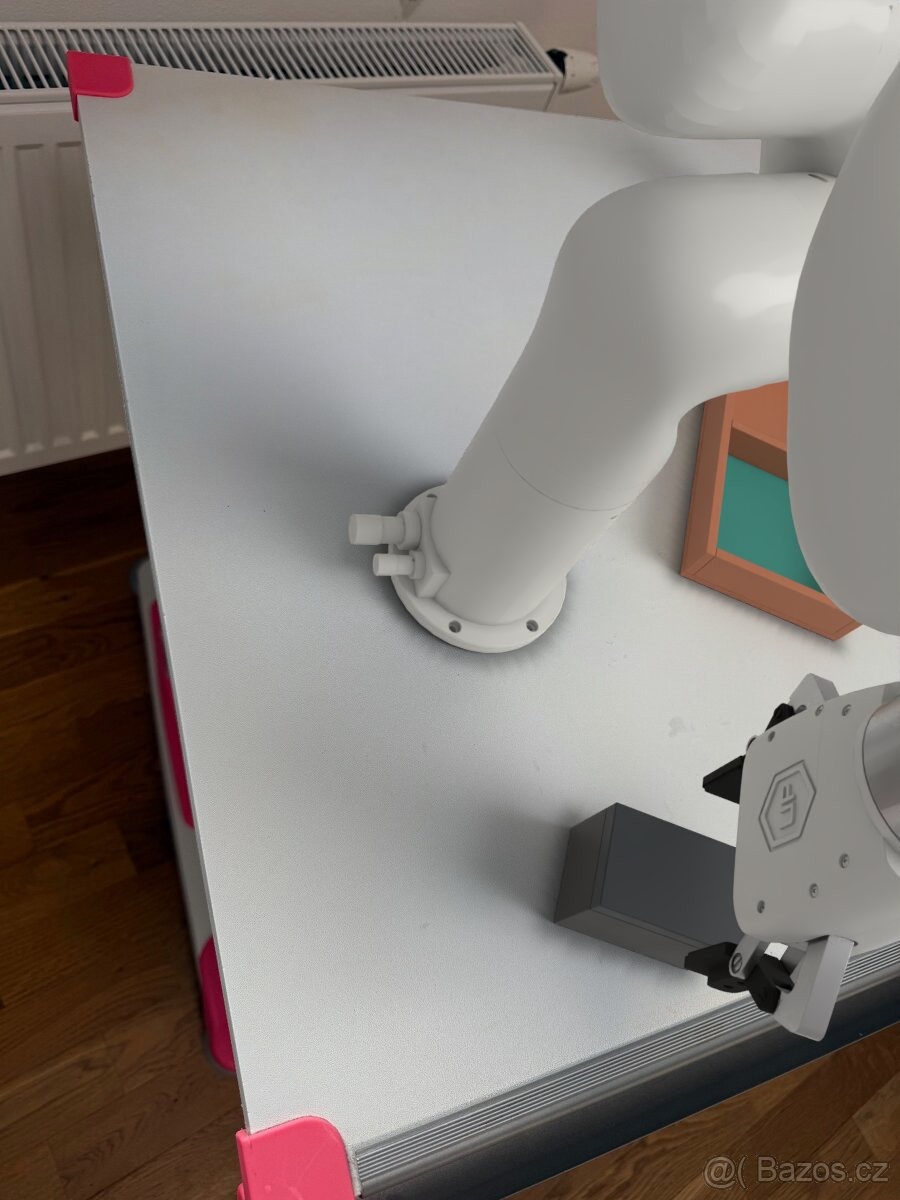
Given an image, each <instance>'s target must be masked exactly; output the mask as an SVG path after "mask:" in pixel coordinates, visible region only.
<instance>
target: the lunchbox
mask: <svg viewBox="0 0 900 1200" xmlns="http://www.w3.org/2000/svg"><path fill="white" fill-rule="evenodd" d="M735 855H736V846H733V845H731V844H728V843H726V842H723V841H720V840H718V839H715V838H713V837H710V836H707V835H705V834H702V833H699V832H697V831H693V830H691V829H690V828H686V827H684V826H681V825H678V824H677V823H673V822H670V821H668V820H665V819H663V818H660V817H657V816H655V815H652V814H649V813H646V812H644V811H643V810H642V811H641V810H639V809H636V808H634V807H632V806H631V807H630V806H628V805H626V804H623V803H620V802H614V803H612V804H610V805H609V806H607V807H605V808H603V809H602V810H600V811H598V812H597V813H595V814H593V815H591V816H589V817H587V818H585V819H584V820H582V821H581V822H578V823H577V824H575V825H573V826H572V827H571V830H570V834H569V839H568V845H567V851H566V855H565V861H564V866H563V872H562V877H561V882H560V888H559V893H558V897H557V905H556V910H555V913H554V920H553V923H554V925H558V926H561V927H563V928H567V929H570V930H572V931H573V932H574V931H575V932H577V933H580V934H583V935H586V936H589V937H591V938H595V939H597V940H601V941H603V942H606V943H608V944H611V945H614V946H617V947H620V948H623V949H626V950H629V951H631V952H635V953H637V954H640V955H643V956H646V957H649V958H652V959H654V960H657V961H659V962H662V963H665V964H668V965H671V966H674V967H677V968H679V969H683V970H685V971H688V970H687V969H685V968H684V961H685V956H687V955H688V953H689V952H692V951H695V950H699V949H702V948H705V947H708V946H712V945H715V944H718V943H721V942H732V943H735V944H739V943H740V941H741V939H742V938H743V936H744V935H745V933H744V932H742V930H741V929H740V927H739V924H738V922H737V919H736V916H735V911H734V902H733V888H734V870H735Z"/></svg>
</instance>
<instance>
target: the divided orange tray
mask: <svg viewBox="0 0 900 1200" xmlns="http://www.w3.org/2000/svg"><path fill="white" fill-rule="evenodd" d="M787 417H788V381H783V382H778V383H772V384H767V385H763V386H760V387H758V388H754V389H750V390H744V391H739V392H734V393H729V394H725V395H721V396H718V397H715V398H712V399H709V400H707V401H704V405H703V413H702V420H701V424H700V425H701V426H700V434H699V440H698V448H697V454H696V461H695V467H694V475H693V482H692V487H691V488H692V489H691V496H690V503H689V510H688V516H687V524H686V529H685V530H686V531H685V538H684V545H683V552H682V559H681V565H680V573H679V575H680V576H681V577H683V578H686V579H689V580H691V581H693V582H695V583H698V584H700V585H703V586H704V587H706V588H707V587H708V588H710V589H712V590H714V591H717V592H718V593H722V594H724V595H726V596H728V597H731V598H733V599H736V600H738V601H740V602H742V603H745V604H747V605H749V606H751V607H754V608H756V609H758V610H761V611H763V612H765V613H768V614H770V615H773V616H775V617H777V618H780V619H782V620H784V621H787V622H789V623H791V624H794V625H796V626H799V627H801V628H803V629H806V630H807V631H810V632H813V633H815V634H818V635H820V636H822V637H824V638H826V639H829V640H832V641H834V642H837V641H838V640H840V639H841V638H844V637H845V636H847V635H848V634H850V633H852V632H853V631H854V630H856V629H858V628H860V627H861V626H864V625H863V624H861V623H859V622H857V621H856V620H854V619H853V618H851V617H850V616H849V615H847V614H846V613H844V612H843V611H841V610H840V609H839V608H838V607H837V606H836V605H835V604H834V603H833V602H832V601H831V599H830V598H829V597H828V596H827V595H826V594H825V593H824V592H823V591H822V589H821V588H820V586H819V585H818V583H817V581H816V580H815V578H814V577H813V575H812V573H811V572H810V570H809V568H808V566H807V564H806V561H805V559H804V556H803V554H802V551H801V549H800V546H799V543H798V539H797V535H796V530H795V526H794V522H793V517H792V512H791V503H790V497H789V483H788V468H787Z"/></svg>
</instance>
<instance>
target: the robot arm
mask: <svg viewBox="0 0 900 1200" xmlns="http://www.w3.org/2000/svg"><path fill="white" fill-rule="evenodd" d="M595 9H596V10H595V11H596V12H595V14H596V16H595V19H596V20H595V21H596V24H595V33H596V36H595V37H596V60H597V68H598V76H599V81H600V84H601V87H602V88H601V89H602V93H603V95H604V98H605V101H606V102H607V104H608V106H609V107H610V109H611V111H612V112H613V113H614V115H615V116H616V117H617V118H618V119H619V120H621V121H622V122H623V123H625V124H626V125H627V126H629V127H630V128H632V129H633V130H636V131H639V132H642V133H644V134H647V135H651V136H654V137H655V136H656V137H663V138H672V139H681V140H682V139H683V140H684V139H685V140H702V141H703V140H704V141H705V140H706V141H707V140H708V141H709V140H711V141H712V140H713V141H715V140H717V141H718V140H722V141H723V140H725V141H726V140H729V141H730V140H760V154H759V155H760V156H759V172H758V173H756V172H734V173H714V174H713V173H711V174H691V175H690V174H689V175H687V174H686V175H677V176H667V177H661V178H656V179H652V180H646V181H641V182H637V183H635V184H632V185H629V186H626V187H623V188H620V189H618V190H616V191H612V192H611V193H609V194H607V195H605V196H604V197H602V198H600V199H599V200H597V201H596V202H595V203H593V204H592V205H591V206H589V207H588V208H587V209H586V210H584V212H583V213H582V214H581V215H579V217H578V218H577V219H576V221H575V222H574V223H573V225H571V226H570V227H571V228H570V229H569V231H568V232H567V234H566V235H565V238H564V240H563V242H562V245H561V246H560V248H559V251H558V253H557V256H556V260H555V262H554V266H553V268H552V272H551V277H550V278H549V282H548V286H547V288H546V289H547V290H546V292H545V297H544V299H543V303H542V306H541V308H540V312H539V315H538V317H537V320H536V322H535V324H534V327H533V329H532V332H531V334H530V336H529V338H528V340H527V342H526V344H525V346H524V348H523V349H522V352H521V354H520V355H519V358H518V359H517V361H516V362H515V365H514V366H513V368H512V370H511V372H510V373H509V375H508V377H507V378H506V380H505V382H504V384H503V385H502V387H501V389H500V390H499V392H498V393H497V394H498V395H497V397H496V398H495V400H494V402H493V403H492V405H491V407H490V408H489V410H488V412H487V414H486V415H485V417H484V418H483V420H482V422H481V424H480V425H479V427H478V429H477V430H476V432H475V434H474V436H473V437H472V438H471V440H470V442H469V444H468V445H467V447H466V448H465V451H464V452H463V453H462V455H461V457H460V459H459V460H458V462H457V464H456V465H455V467H454V469H453V470H452V472H451V474H450V476H449V477H448V479H447V480H446V482H445V483H444V484H440V485H437V486H435V487H431V488H429V489H427V490H425V491H423V492H422V493H420V494H419V495H416V496H415V497H414V498H413V499H412V500H411V501H410V502H409V503H408V504H407V505H406V506H405V507H404V509H403V510H400V511H399V512H398V513H397V514H396V516H391V515H390V516H388V515H381V514H367V513H366V514H365V513H352V514H351V515H350V517H349V520H348V539H349V543H350V544H351V545H367V546H372V545H373V546H375V545H376V546H380V545H383V544H386V545H387V544H388V546H387V553H374V554H373V557H372V571H373V574H374V576H378V577H379V576H381V577H382V576H384V577H385V576H386V577H387V576H389V577H390V579H391V582H392V584H393V587H394V590H395V592H396V594H397V596H398V598H399V599H400V601H401V602H402V604H403V606H404V607H405V609H406V610H407V611H408V613H409V614H410V615H411V616H412V617H413V618H414V619H415V620H416V621H417V623H419V625H421V626H422V627H423V628H424V629H426V630H427V631H428V632H429V633H431V634H432V635H433V636H435V637H437V638H439V639H440V640H441V641H444V642H446V643H448V644H450V645H451V646H455V647H457V648H460V649H463V650H467V651H470V652H476V653H484V654H499V653H501V654H502V653H505V652H511V651H515V650H519V649H521V648H524V647H525V646H527V645H530V644H531V643H533V642H534V641H536V640H537V639H538V638H539V637H540V636H542V635H543V634H544V633H545V632H546V631H547V630H548V629H549V628H550V627H551V626H552V624H554V622H555V620H556V619H557V617H558V616H559V614H560V613H561V610H562V607H563V604H564V600H565V598H566V591H567V584H568V583H567V581H568V580H567V574H568V573H570V571H571V570H572V569H573V568H574V567H575V565H576V564H577V563H578V562H579V561H580V560H581V559H582V558H583V557H584V556H585V555H586V554H587V552H588V551H589V550H590V549H591V548H592V547H593V546H594V545H595V544H596V543H597V541H599V539H600V538H601V537H603V535H604V534H605V533H606V532H607V531H608V530H609V528H611V527H612V525H613V524H614V523H615V522H616V521H617V520H618V519H619V518H620V516H621V515H623V514H624V512H625V511H626V510H627V509H628V508H629V507H630V506H631V505H632V503H634V501H636V499H637V498H638V497H639V496H640V494H641V493H642V492H643V491H644V490H645V489H646V488H647V487H648V486H649V484H650V483H651V482H652V481H653V480H654V479H655V477H657V475H658V474H659V473H660V472H661V470H662V469H663V468H664V466H665V465H666V464H667V462H668V461H669V459H670V457H671V455H672V453H673V451H674V449H675V447H676V443H677V440H678V427H679V426H678V425H679V423H680V421H681V419H682V418H683V417H684V416H685V415H686V414H687V413H688V412H690V411H691V410H692V409H694V408H695V407H696V406H698V405H700V404H702V403H705V401H707V400H709V399H712V398H715V397H718V396H721V395H725V394H729V393H734V392H739V391H744V390H750V389H754V388H758V387H760V386H763V385H767V384H772V383H778V382H783V381H788V417H787V468H788V483H789V497H790V503H791V512H792V517H793V522H794V526H795V530H796V535H797V539H798V543H799V546H800V549H801V551H802V554H803V556H804V559H805V561H806V564H807V566H808V568H809V570H810V572H811V573H812V575H813V577H814V578H815V580H816V581H817V583H818V585H819V586H820V588H821V589H822V591H823V592H824V593H825V594H826V595H827V596H828V597H829V598H830V599H831V601H832V602H833V603H834V604H835V605H836V606H837V607H838V608H839V609H840V610H841V611H843V612H844V613H846V614H847V615H849V616H850V617H851V618H853V619H854V620H856V621H857V622H859V623H861V624H863V625H862V626H866V627H868V628H870V629H873V630H874V631H877V632H879V633H881V634H885V635H891V636H896V637H900V0H596V7H595ZM788 698H789V701H788V702H787V703H785V702H781V703H780V704H779V705H778V706H776V708H775V709H774V710H773V714H772V716H771V718H770V720H769V722H768V724H767V726H766V727H765V729H764V731H763V732H762V733H761V734H759V735H757V734H755V735H752V736H751V737H750V738H749V739H748V741H747V743H746V746H745V754H743V755H739V756H737V757H735V758H734V759H732V760H729V762H727V763H725V764H724V765H721V766H720V767H718V768H717V769H715V770H713V771H712V772H710V773H708V774H706V775H705V776H703V777H702V786H701V788H702V789H703V791H704V792H706V793H708V794H710V795H713V796H715V797H718V798H721V799H724V800H726V801H729V802H732V803H734V804H737V805H739V806H738V817H737V828H736V829H737V830H736V840H735V842H736V843H735V847H736V855H735V870H734V888H733V902H734V911H735V916H736V919H737V922H738V924H739V927H740V929H741V930H742V932H744V933H745V935H744V936H743V938H742V939H741V941H740V943H739V944H735V943H732V942H721V943H718V944H715V945H712V946H708V947H705V948H702V949H699V950H695V951H692V952H689V953H688V955H687V956H685V961H684V968H685V969H687V970H686V971H690V972H693V973H695V974H699V975H702V976H705V977H707V979H706V986H707V987H709V988H711V989H714V990H717V991H720V992H723V993H726V994H727V993H728V994H740V993H744V992H748V993H749V995H750V996H751V998H752V1000H753V1001H754V1003H755V1005H756V1007H757V1009H758V1010H759V1011H761V1012H764V1013H766V1014H768V1015H769V1016H771V1017H772V1019H773V1020H774V1021H776V1022H777V1023H778V1024H779V1025H780V1026H782V1027H783V1028H785V1029H786V1030H787V1031H789V1032H790V1033H793V1034H795V1035H799V1036H800V1037H801V1036H802V1037H804V1038H807V1039H810V1040H812V1041H816V1042H821V1041H822V1040H823V1039H824V1038H825V1036H826V1033H827V1030H828V1028H829V1027H828V1026H829V1024H830V1020H831V1017H832V1014H833V1011H834V1008H835V1005H836V1002H837V1000H838V996H839V993H840V991H841V987H842V983H843V980H844V977H845V973H846V971H847V967H848V965H849V961H850V959H851V957H854V956H858V955H861V954H864V953H865V954H866V953H868V952H872V951H874V950H878V949H881V948H883V947H886V946H888V945H891V944H894V943H897V942H899V941H900V680H899V681H893V682H888V683H887V682H886V683H883V684H878V685H873V686H869V687H866V688H861V689H857V690H854V691H850V692H848V693H844V694H841V695H840V694H839V691H838V690H837V688H836V686H835V684H834V682H833V681H831V680H830V679H827V678H824V677H822V676H819V675H817V674H815V673H812V672H809V673H807V674H806V675H805V676H804V677H803V678H802V680H801V681H800V682H799V684H798V685H797V687H796V688H795V689H794V691H792V693H791V694H790V696H789V697H788ZM771 943H774V944H781V945H783V946H787V947H786V949H785V951H784V952H783V953H782V955H781V957H780V959H779V957H777V956H773V955H771V954H768V953H766V951H767V950H768V948H769V947H770V944H771ZM685 969H684V970H685Z"/></svg>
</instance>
